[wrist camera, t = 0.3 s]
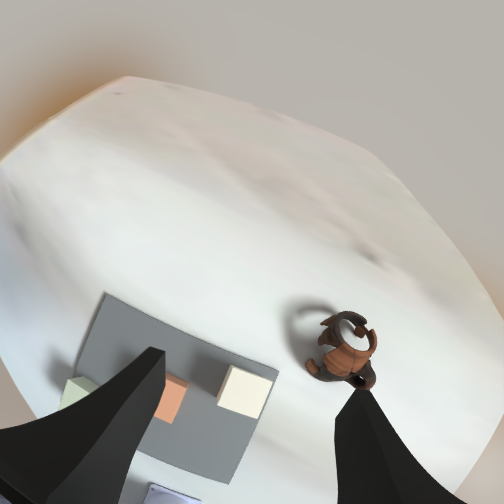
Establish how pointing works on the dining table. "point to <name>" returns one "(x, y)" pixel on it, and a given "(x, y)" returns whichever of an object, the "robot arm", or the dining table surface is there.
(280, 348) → the dining table surface
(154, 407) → the robot arm
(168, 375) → the terracotta cube
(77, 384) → the sage cube
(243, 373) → the cream cube
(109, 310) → the board
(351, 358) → the dark brown arched piece
